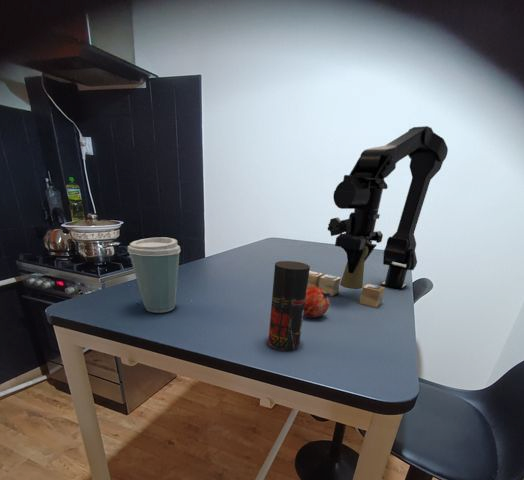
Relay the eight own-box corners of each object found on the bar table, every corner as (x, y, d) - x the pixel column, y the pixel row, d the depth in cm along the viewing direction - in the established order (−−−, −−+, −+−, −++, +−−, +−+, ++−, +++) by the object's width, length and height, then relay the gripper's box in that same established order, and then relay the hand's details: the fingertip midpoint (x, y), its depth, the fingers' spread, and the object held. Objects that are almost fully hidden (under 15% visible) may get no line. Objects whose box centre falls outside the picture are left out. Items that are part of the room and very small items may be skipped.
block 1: (307, 285, 97) (309, 270, 95) (321, 288, 95) (323, 273, 93) (300, 288, 94) (302, 272, 92) (314, 291, 92) (316, 275, 89)
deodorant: (266, 336, 63) (273, 260, 56) (296, 337, 64) (305, 262, 57) (269, 350, 58) (277, 268, 51) (301, 351, 58) (313, 270, 51)
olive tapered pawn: (363, 290, 84) (372, 247, 79) (340, 287, 85) (347, 245, 80) (361, 284, 89) (370, 243, 84) (339, 281, 90) (347, 241, 85)
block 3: (364, 299, 89) (368, 283, 86) (380, 303, 86) (385, 286, 84) (359, 303, 85) (363, 286, 83) (375, 307, 83) (380, 290, 81)
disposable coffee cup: (151, 320, 66) (143, 246, 59) (125, 306, 72) (116, 237, 65) (192, 309, 73) (190, 242, 66) (166, 297, 79) (161, 234, 72)
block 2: (324, 289, 95) (326, 273, 92) (338, 292, 92) (341, 277, 90) (317, 292, 91) (320, 276, 89) (331, 296, 89) (334, 279, 87)
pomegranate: (290, 325, 74) (322, 311, 67) (282, 296, 75) (312, 278, 67) (311, 322, 79) (343, 308, 72) (303, 294, 80) (333, 278, 72)
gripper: (349, 205, 89) (339, 261, 96) (320, 206, 75) (311, 271, 82) (389, 209, 84) (375, 268, 91) (366, 211, 70) (352, 281, 77)
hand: (353, 271), depth 85 cm, fingers closed on olive tapered pawn, 4 cm apart
